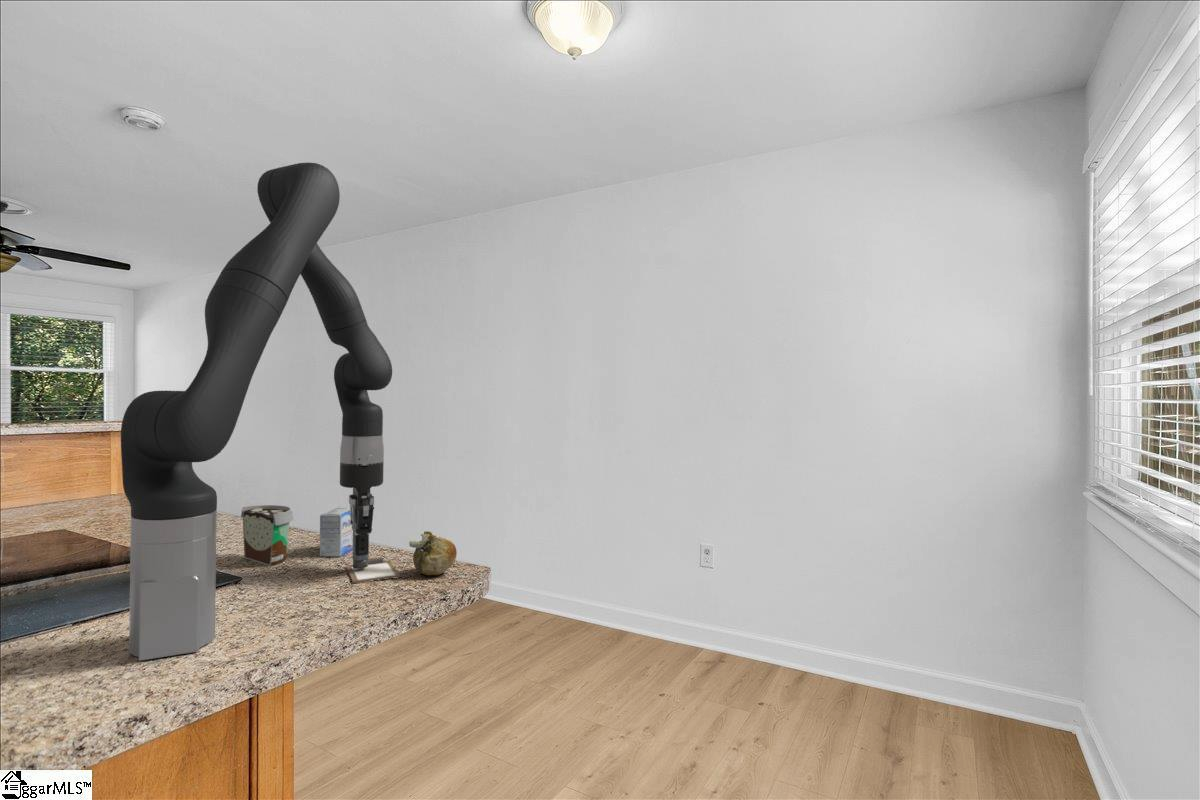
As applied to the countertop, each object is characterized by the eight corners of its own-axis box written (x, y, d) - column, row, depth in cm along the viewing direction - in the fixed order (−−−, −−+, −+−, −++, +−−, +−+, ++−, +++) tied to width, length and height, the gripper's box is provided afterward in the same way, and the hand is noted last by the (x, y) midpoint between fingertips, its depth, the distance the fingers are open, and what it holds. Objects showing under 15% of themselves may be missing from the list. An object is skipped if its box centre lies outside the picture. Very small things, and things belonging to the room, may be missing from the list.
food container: (305, 560, 118) (306, 509, 118) (274, 567, 113) (275, 514, 113) (271, 550, 125) (271, 502, 125) (240, 557, 120) (241, 506, 120)
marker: (370, 567, 111) (371, 505, 111) (352, 569, 110) (353, 506, 110) (367, 563, 114) (368, 502, 114) (350, 565, 112) (351, 503, 112)
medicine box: (340, 557, 121) (341, 514, 121) (318, 557, 121) (319, 514, 121) (357, 547, 129) (358, 507, 129) (336, 546, 129) (337, 506, 129)
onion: (447, 581, 107) (448, 536, 107) (404, 578, 108) (405, 534, 108) (461, 568, 115) (462, 527, 115) (421, 566, 116) (422, 525, 116)
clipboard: (400, 577, 109) (400, 571, 109) (353, 583, 105) (353, 577, 105) (389, 562, 118) (389, 556, 118) (345, 567, 114) (345, 561, 114)
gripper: (336, 456, 116) (335, 546, 116) (344, 465, 103) (342, 565, 104) (377, 455, 119) (376, 542, 120) (389, 463, 107) (388, 560, 107)
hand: (360, 552), depth 112 cm, fingers closed on marker, 2 cm apart
